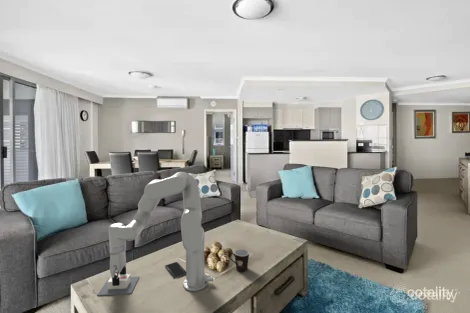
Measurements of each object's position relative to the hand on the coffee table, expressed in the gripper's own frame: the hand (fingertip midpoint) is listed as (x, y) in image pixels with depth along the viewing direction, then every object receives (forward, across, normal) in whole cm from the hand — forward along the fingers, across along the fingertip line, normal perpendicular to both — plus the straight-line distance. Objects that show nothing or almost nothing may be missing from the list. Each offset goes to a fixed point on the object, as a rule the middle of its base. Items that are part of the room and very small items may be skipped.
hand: (119, 279), depth 128 cm
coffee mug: (+4, -11, +64) cm, 65 cm away
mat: (+4, 0, 0) cm, 4 cm away
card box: (+3, 0, 0) cm, 3 cm away
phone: (+4, -12, +27) cm, 30 cm away
